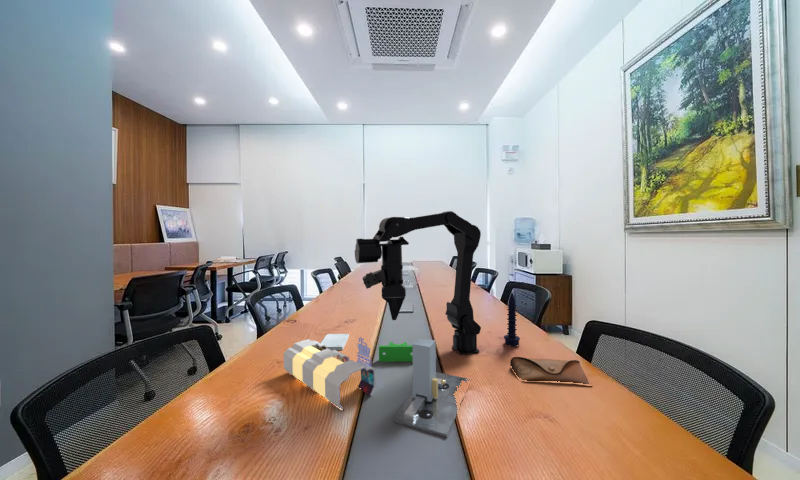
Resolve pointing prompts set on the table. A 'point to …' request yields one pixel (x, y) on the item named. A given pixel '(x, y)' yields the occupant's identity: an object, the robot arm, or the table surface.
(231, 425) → the table surface
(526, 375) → the sunglasses case
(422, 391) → the gray rectangular block
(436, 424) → the flange plate
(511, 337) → the screw
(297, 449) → the table surface
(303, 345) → the diorama
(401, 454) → the table surface
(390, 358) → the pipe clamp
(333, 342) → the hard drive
